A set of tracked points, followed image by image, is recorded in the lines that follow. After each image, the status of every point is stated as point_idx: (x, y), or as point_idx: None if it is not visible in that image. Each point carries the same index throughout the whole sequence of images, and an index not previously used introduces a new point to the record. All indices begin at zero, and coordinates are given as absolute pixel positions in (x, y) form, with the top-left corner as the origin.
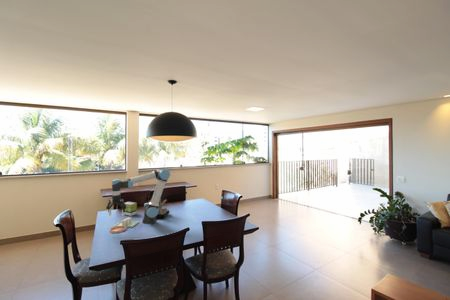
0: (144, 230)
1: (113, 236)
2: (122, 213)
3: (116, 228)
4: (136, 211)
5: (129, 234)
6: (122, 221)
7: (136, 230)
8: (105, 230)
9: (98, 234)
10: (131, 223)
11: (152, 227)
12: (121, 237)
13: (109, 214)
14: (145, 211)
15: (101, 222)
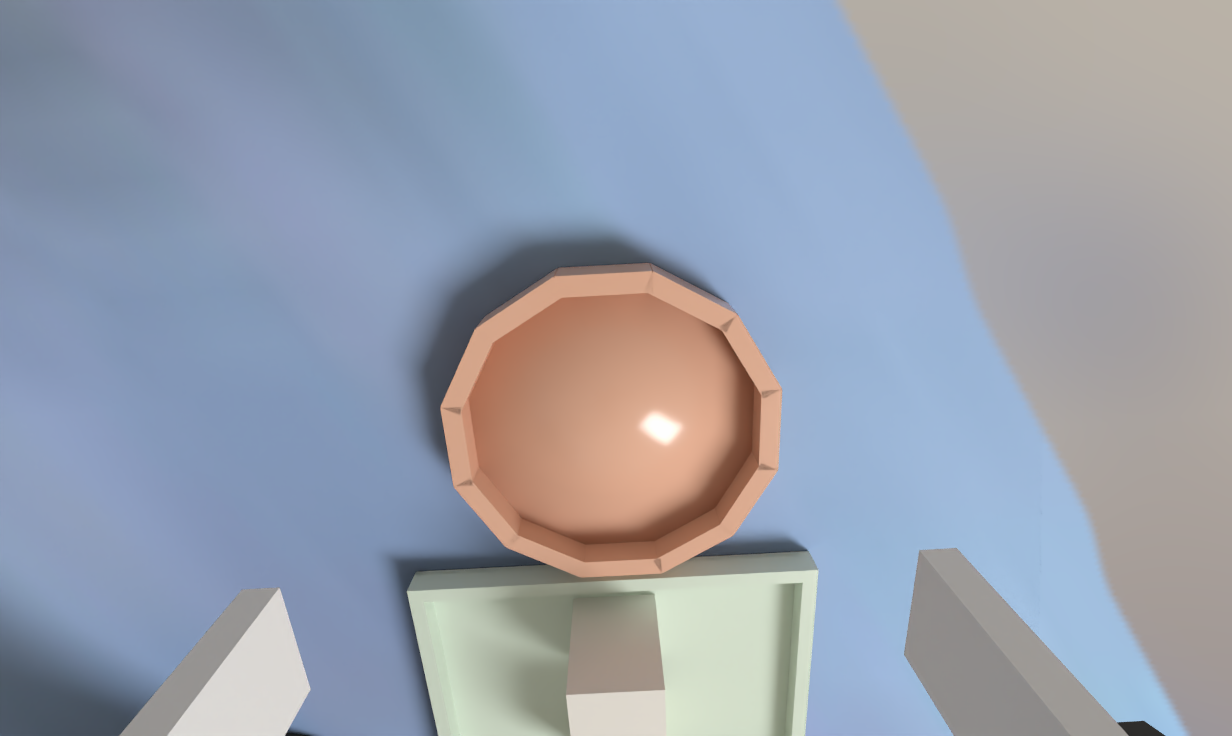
0: (46, 455)
1: (476, 62)
2: (162, 699)
3: (685, 479)
4: None
5: (189, 218)
6: (646, 676)
7: (213, 441)
8: (876, 385)
9: (912, 153)
10: (556, 723)
11: (18, 601)
12: (235, 16)
13: (975, 604)
14: None
15: (1158, 726)
